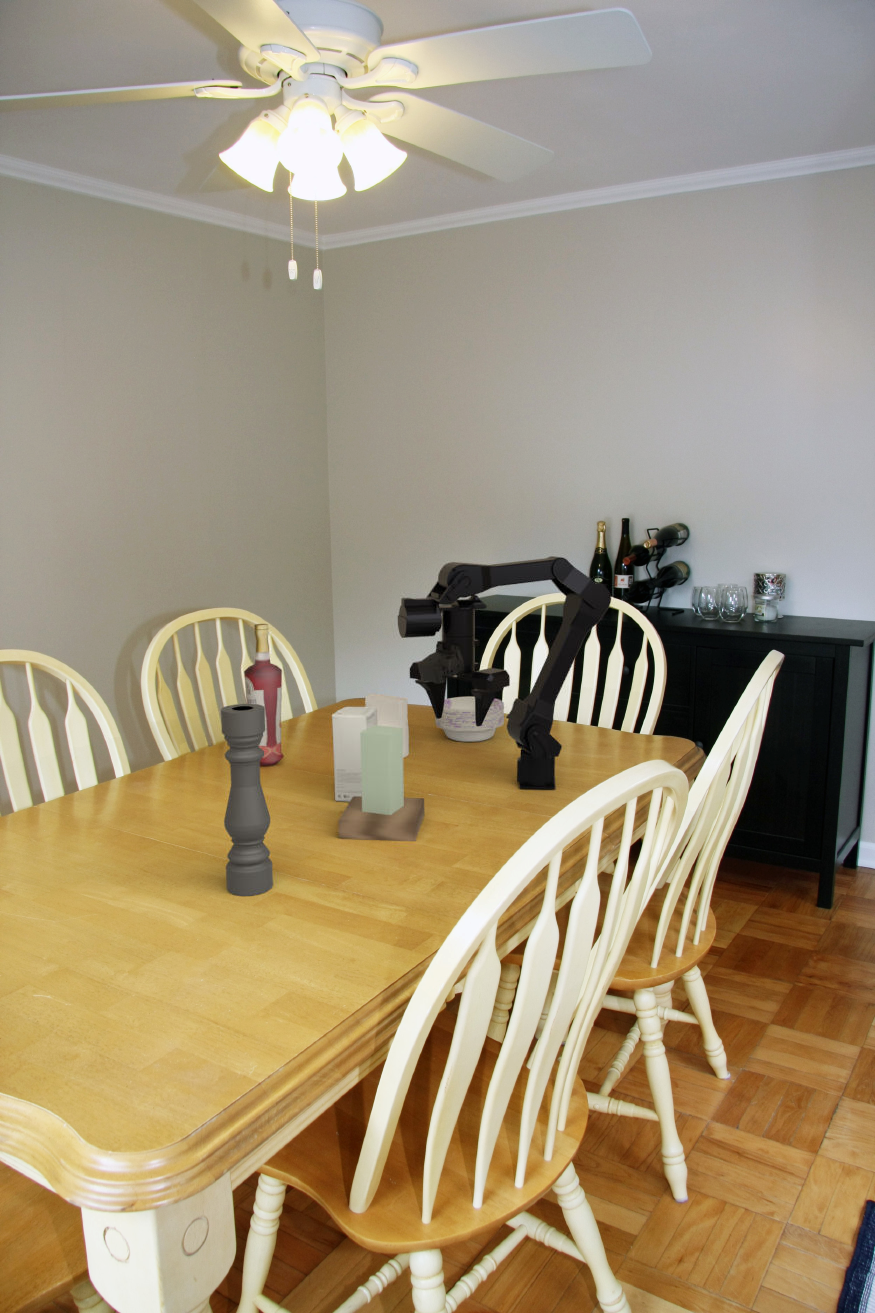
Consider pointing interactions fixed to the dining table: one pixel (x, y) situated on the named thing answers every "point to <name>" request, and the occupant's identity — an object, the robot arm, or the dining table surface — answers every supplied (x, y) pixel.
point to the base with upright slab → (391, 714)
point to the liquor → (266, 695)
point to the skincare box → (349, 749)
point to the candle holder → (246, 802)
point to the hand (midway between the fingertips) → (458, 722)
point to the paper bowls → (469, 719)
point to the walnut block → (382, 822)
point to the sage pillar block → (382, 769)
